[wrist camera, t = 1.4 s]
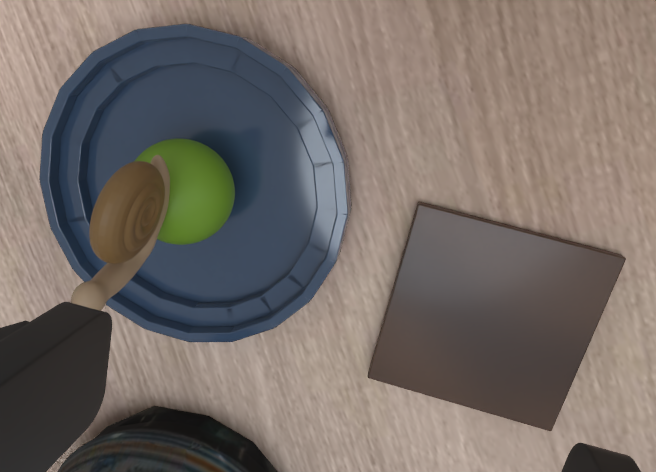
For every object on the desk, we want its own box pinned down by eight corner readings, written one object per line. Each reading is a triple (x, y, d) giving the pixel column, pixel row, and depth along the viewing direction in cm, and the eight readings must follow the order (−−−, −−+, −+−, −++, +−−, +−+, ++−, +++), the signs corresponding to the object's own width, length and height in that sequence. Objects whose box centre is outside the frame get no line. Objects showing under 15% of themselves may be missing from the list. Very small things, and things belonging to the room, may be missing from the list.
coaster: (418, 201, 29) (418, 203, 29) (622, 254, 28) (626, 258, 28) (368, 372, 33) (367, 378, 32) (549, 425, 32) (551, 432, 31)
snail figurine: (145, 226, 32) (-8, 309, 20) (166, 120, 30) (9, 146, 18) (231, 256, 31) (124, 358, 20) (258, 151, 29) (157, 197, 18)
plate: (77, -4, 29) (50, -10, 27) (386, 71, 28) (384, 71, 26) (55, 283, 34) (31, 296, 32) (313, 358, 33) (306, 377, 31)
